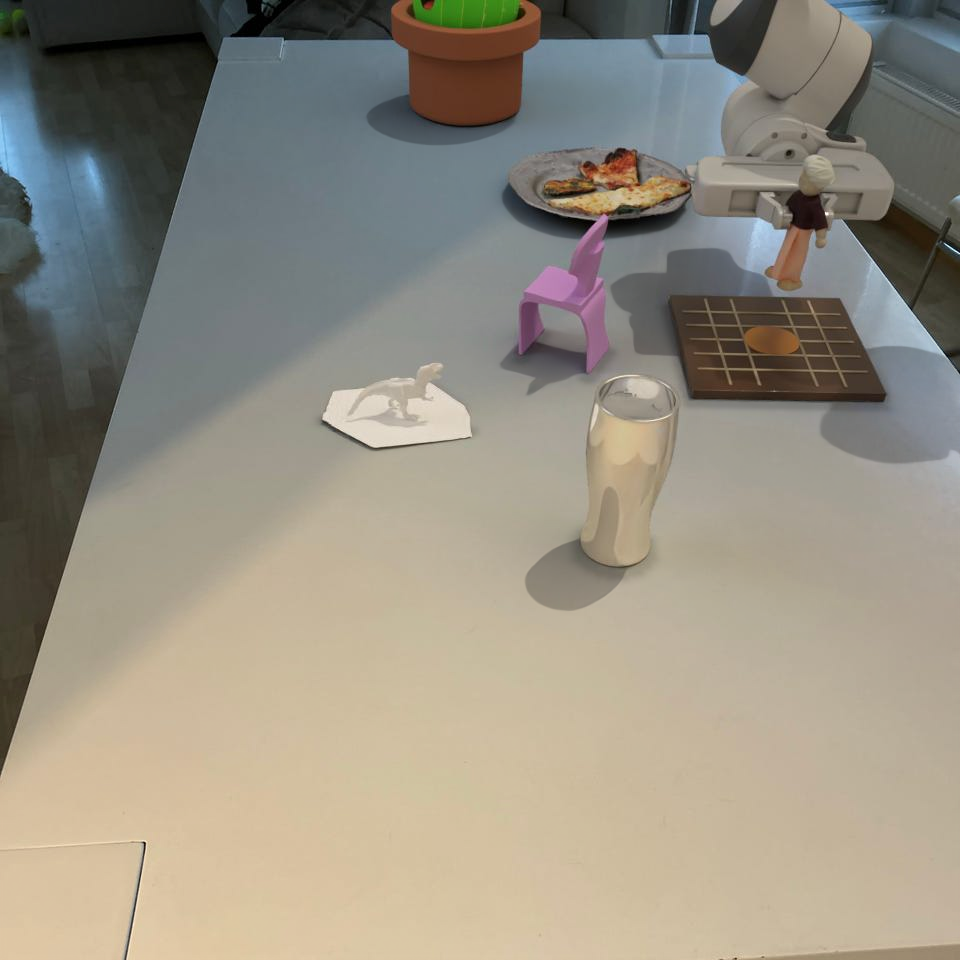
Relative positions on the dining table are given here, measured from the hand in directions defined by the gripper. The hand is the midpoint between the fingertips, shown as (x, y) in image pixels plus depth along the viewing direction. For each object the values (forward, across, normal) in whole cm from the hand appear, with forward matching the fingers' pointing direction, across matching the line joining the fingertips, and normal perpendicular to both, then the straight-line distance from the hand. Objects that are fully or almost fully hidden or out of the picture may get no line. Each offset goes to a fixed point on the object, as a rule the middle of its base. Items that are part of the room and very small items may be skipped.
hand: (805, 223), depth 97 cm
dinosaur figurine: (+13, -40, +15) cm, 44 cm away
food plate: (-40, -16, +15) cm, 46 cm away
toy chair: (0, -23, +15) cm, 27 cm away
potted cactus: (-73, -35, +15) cm, 82 cm away
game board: (-1, 0, +14) cm, 15 cm away
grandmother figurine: (0, 0, +7) cm, 7 cm away
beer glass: (+32, -20, +14) cm, 40 cm away
